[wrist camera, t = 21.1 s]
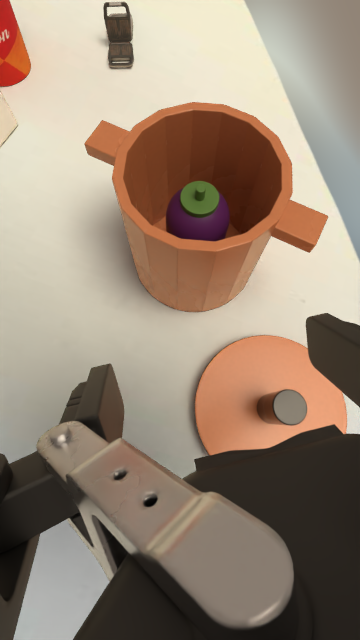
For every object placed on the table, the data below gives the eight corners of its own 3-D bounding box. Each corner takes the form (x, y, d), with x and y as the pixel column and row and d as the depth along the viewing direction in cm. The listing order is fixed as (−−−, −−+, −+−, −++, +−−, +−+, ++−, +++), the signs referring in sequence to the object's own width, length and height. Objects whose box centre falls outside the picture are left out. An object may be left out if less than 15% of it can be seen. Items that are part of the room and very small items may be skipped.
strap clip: (109, 21, 41) (101, -23, 37) (133, 20, 41) (128, -24, 37) (108, 69, 39) (100, 28, 35) (134, 68, 39) (129, 27, 35)
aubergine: (205, 287, 30) (218, 231, 21) (158, 265, 31) (150, 200, 22) (228, 245, 31) (249, 175, 22) (182, 224, 32) (184, 147, 23)
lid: (309, 520, 25) (347, 549, 20) (168, 442, 27) (166, 449, 21) (359, 377, 28) (404, 367, 23) (231, 315, 30) (243, 292, 24)
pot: (248, 346, 29) (293, 302, 18) (89, 267, 31) (41, 185, 20) (294, 246, 32) (356, 156, 21) (146, 180, 34) (132, 67, 23)
